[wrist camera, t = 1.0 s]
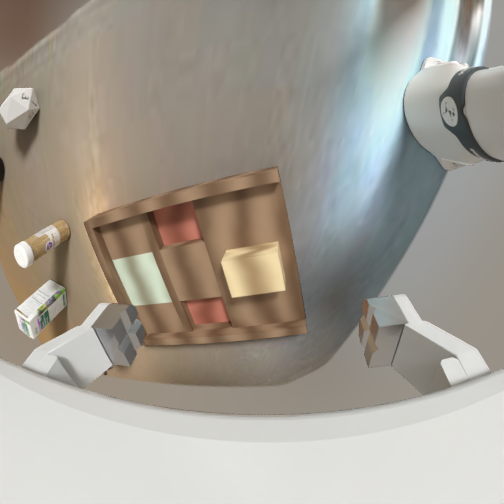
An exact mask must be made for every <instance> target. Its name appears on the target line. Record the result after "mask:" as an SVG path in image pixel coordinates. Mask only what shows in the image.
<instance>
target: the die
mask: <svg viewBox="0 0 504 504" xmlns="http://www.w3.org/2000/svg"><path fill="white" fill-rule="evenodd" d="M39 109H40V106H39V104H38V101H37V99H36V96H35V93H34V90H33V88H15V89H13V91H12V92H11V93H10V95H9V96H8V97H7V99H6V100H5V101H4V103H3V104H2V106H1V107H0V114H1V116H2V119H3V121H4V123H5V125H6V127H7V129H26V127H27V126H28V124H29V123H30V121H31V120H32V119H33V117H34V116H35V114H36V113H37V112H38V110H39Z"/></svg>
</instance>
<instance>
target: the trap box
mask: <svg viewBox="0 0 504 504" xmlns="http://www.w3.org/2000/svg"><path fill="white" fill-rule="evenodd" d="M83 223H84V225H85V228H86V231H87V233H88V236H89V239H90V241H91V244H92V246H93V249H94V251H95V254H96V256H97V258H98V261H99V263H100V265H101V268H102V270H103V272H104V274H105V277H106V279H107V281H108V283H109V285H110V287H111V289H112V292H113V294H114V296H115V298H116V300H117V302H118V304H132V305H134V306H135V307H136V309H137V312H138V316H137V319H138V320H139V321H140V322H141V323H142V324H143V327H144V332H145V336H144V342H143V344H142V345H183V344H203V343H219V342H232V341H244V340H254V339H264V338H273V337H281V336H289V335H297V334H304V333H307V327H306V316H305V310H304V304H303V297H302V291H301V285H300V279H299V273H298V268H297V262H296V256H295V251H294V245H293V240H292V235H291V229H290V224H289V219H288V214H287V209H286V204H285V199H284V194H283V189H282V185H281V180H280V175H279V171H278V166H277V167H271V168H266V169H262V170H257V171H252V172H247V173H243V174H238V175H234V176H229V177H225V178H221V179H217V180H212V181H208V182H204V183H200V184H196V185H193V186H189V187H185V188H181V189H178V190H174V191H170V192H167V193H163V194H160V195H156V196H153V197H150V198H146V199H143V200H140V201H136V202H133V203H130V204H127V205H124V206H121V207H118V208H114V209H111V210H109V211H106V212H103V213H100V214H97V215H95V216H94V217H92V218H90V219H88V220H87V221H85V222H83ZM272 242H278V243H279V247H280V252H281V257H282V262H283V267H284V272H285V290H284V291H278V292H271V293H264V294H256V295H249V296H242V297H234V298H232V296H231V293H230V290H229V287H228V284H227V280H226V277H225V274H224V271H223V267H222V264H221V261H222V259H223V256H224V254H225V252H226V250H231V249H237V248H243V247H249V246H254V245H260V244H266V243H272Z"/></svg>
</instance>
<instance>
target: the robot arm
mask: <svg viewBox="0 0 504 504" xmlns="http://www.w3.org/2000/svg"><path fill="white" fill-rule="evenodd" d="M404 110H405V116H406V120H407V123H408V125H409V128H410V130H411V132H412V134H413V135H414V137H415V138H416V140H417V141H418V142H419V143H420V144H421V145H422V146H423V147H424V148H425V149H426V150H428V151H429V152H430V153H432V154H433V155H434V156H435V157H436V158H437V160H438V161H439V163H440V164H441V166H442V167H443V168H444V169H445V170H454V169H456V168H459V167H462V166H465V165H469V166H473V165H474V163H478V162H480V161H482V160H486V161H490V162H493V161H494V162H504V65H503V66H499V67H494V68H486V67H476V66H474V67H469V66H468V64H466V63H460V64H458V62H456V61H451V62H445V61H442V60H439V59H436V58H432V57H429V58H426V59H425V60H424V61H423V64H422V67H421V70H420V71H419V72H418V73H417V74H416V75H415V76H414V77H413V78H412V79H411V80H410V82H409V84H408V86H407V88H406V91H405V96H404ZM453 162H454V163H453ZM362 311H363V314H364V315H363V316H362V317H361V318H360V322H359V337H360V342H361V345H363V346H364V347H365V353H364V355H365V358H366V361H367V365H368V368H372V367H380V366H387V365H392V367H393V368H394V369H395V370H396V371H397V372H398V373H400V374H401V375H402V376H403V377H404V378H405V379H406V380H407V381H408V382H409V383H410V384H412V385H413V386H414V387H415V388H416V389H417V390H418V391H419V392H421V394H423V396H419V397H414V398H410V399H406V400H401V401H396V402H392V403H387V404H381V405H375V406H369V407H363V408H356V409H348V410H340V411H330V412H319V413H305V414H284V415H283V414H280V415H250V414H248V415H247V414H224V413H211V412H199V411H190V410H182V409H174V408H167V407H161V406H155V405H149V404H143V403H138V402H133V401H128V400H124V399H119V398H115V397H111V396H107V395H103V394H99V393H95V392H91V391H88V390H84V388H85V387H86V386H87V385H89V384H90V383H91V382H92V381H94V380H95V379H96V378H97V377H98V376H100V375H101V374H102V373H104V372H105V371H106V370H107V369H108V368H110V367H111V366H112V364H115V365H123V366H131V364H132V362H133V361H134V359H135V357H136V355H137V353H136V349H138V348H139V347H141V346H142V344H143V342H144V336H145V332H144V327H143V324H142V323H141V322H140V321H139V320H138V319H137V316H138V312H137V309H136V307H135V306H134V305H132V304H117V303H100V304H99V305H98V306H97V307H96V308H95V309H94V310H93V312H92V313H91V314H90V315H89V316H88V318H87V319H86V320H85V321H84V323H83V324H82V325H81V326H77V327H75V328H73V329H71V330H69V331H67V332H66V333H64V334H62V335H60V336H58V337H56V338H54V339H53V340H51V341H49V342H47V343H45V344H43V345H41V346H40V347H38V348H36V349H35V350H34V351H33V352H32V354H31V355H30V356H29V357H28V359H27V360H26V361H25V362H24V364H23V365H22V366H21V367H20V366H18V365H16V364H13V363H11V362H9V361H7V360H5V359H3V358H1V357H0V504H504V368H502V369H500V370H497V371H495V372H492V373H491V372H490V370H489V368H488V367H487V365H486V363H485V361H484V360H483V358H482V357H481V355H480V353H479V352H478V350H477V349H476V348H474V347H472V346H470V345H469V344H467V343H465V342H463V341H462V340H460V339H458V338H456V337H454V336H453V335H451V334H449V333H447V332H445V331H443V330H442V329H440V328H438V327H436V326H434V325H433V324H431V323H429V322H427V321H422V320H421V318H420V317H419V315H418V313H417V312H416V310H415V308H414V307H413V305H412V304H411V302H410V301H409V299H408V298H407V296H406V295H405V294H398V295H391V296H385V297H376V298H366V299H364V300H363V303H362Z"/></svg>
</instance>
